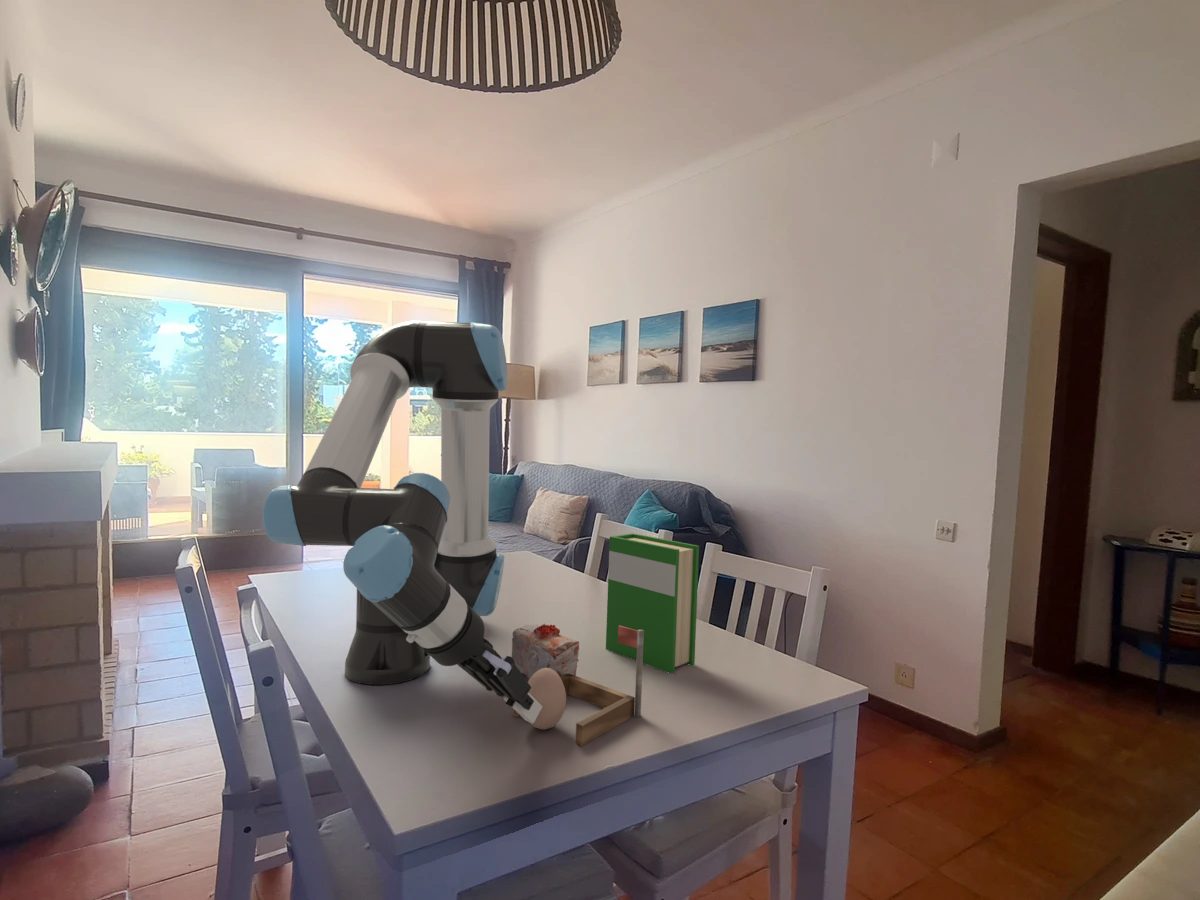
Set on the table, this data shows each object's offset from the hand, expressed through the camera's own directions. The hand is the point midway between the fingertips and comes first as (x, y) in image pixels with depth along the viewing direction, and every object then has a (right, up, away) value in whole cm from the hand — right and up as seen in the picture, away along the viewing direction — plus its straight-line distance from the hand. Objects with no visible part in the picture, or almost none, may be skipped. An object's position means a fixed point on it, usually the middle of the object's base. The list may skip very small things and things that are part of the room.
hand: (534, 713), depth 91 cm
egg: (+1, -4, +4) cm, 6 cm away
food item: (-1, -4, +24) cm, 24 cm away
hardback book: (+20, -4, +37) cm, 42 cm away
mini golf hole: (+6, -4, +9) cm, 12 cm away
